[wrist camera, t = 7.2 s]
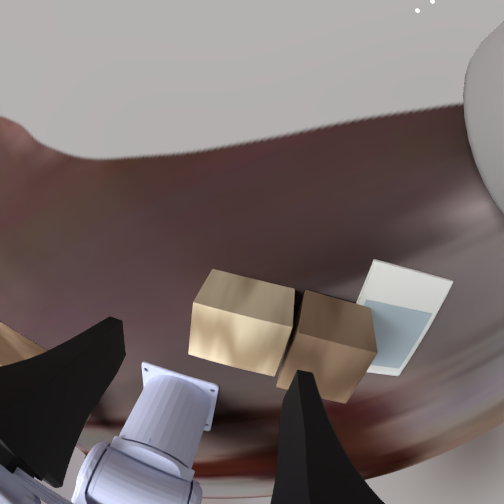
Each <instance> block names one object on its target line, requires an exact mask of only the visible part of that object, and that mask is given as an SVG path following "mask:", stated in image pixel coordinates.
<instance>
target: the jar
mask: <svg viewBox="0 0 504 504" xmlns="http://www.w3.org/2000/svg"><path fill="white" fill-rule="evenodd" d="M430 1H431V3H435V2H434V0H430ZM416 12H420V10H419V9H416ZM463 100H464V118H465V123H466V128H467V134H468V140H469V143H470V146H471V150H472V153H473V157H474V160H475V163H476V166H477V168H478V170H479V173H480V175H481V177H482V180H483V182H484V185H485V186H486V188H487V190H488V192H489V193H490V195H491V197H492V199H493V201H494V203H495V204H496V205H497V207H498V208H499V209H500V211H501V212H502V213H503V214H504V21H503V22H502V23H501V24H500V25H499V26H498V27H497V28H496V29H495V30H494V31H493V32H492V33H491V34H490V35H489V36H488V37H487V38H486V39H484V40H483V41H482V42H481V44H480V45H479V47H478V49H477V50H476V52H475V53H474V55H473V56H472V58H471V60H470V62H469V65H468V68H467V72H466V75H465V82H464V92H463Z"/></svg>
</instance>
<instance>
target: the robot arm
mask: <svg viewBox="0 0 504 504" xmlns="http://www.w3.org/2000/svg"><path fill="white" fill-rule="evenodd" d="M125 355H126V353H125V344H124V334H123V323H122V321H121V320H119V319H116V318H113V317H111V316H110V317H108V318H106V319H104V320H103V321H101V322H99V323H98V324H96V325H94V326H93V327H91V328H89V329H87V330H86V331H84V332H82V333H81V334H79V335H77V336H75V337H74V338H72V339H70V340H68V341H66V342H64V343H62V344H60V345H58V346H56V347H55V348H53V349H51V350H48V351H46V352H44V353H42V354H39V355H37V356H34V357H31V358H29V359H26V360H22V361H19V362H16V363H12V364H9V365H5V366H0V504H41V501H40V499H41V500H42V501H44V502H46V503H47V504H201V500H202V489H201V487H200V485H199V482H198V481H195V480H192V479H193V476H194V472H195V471H194V470H192V469H191V468H192V465H193V461H194V458H195V455H196V452H197V449H198V446H199V443H200V440H201V437H202V434H203V430H205V431H210V429H211V425H212V420H213V415H214V410H215V405H216V400H217V395H218V390H219V386H218V385H217V384H214V383H211V382H207V381H204V380H200V379H197V378H193V377H190V376H187V375H183V374H180V373H177V372H174V371H171V370H168V369H165V368H162V367H159V366H156V365H153V364H150V363H147V362H143V363H142V374H143V384H144V389H143V391H142V393H141V395H140V397H139V399H138V401H137V402H136V404H135V406H134V408H133V410H132V412H131V414H130V416H129V418H128V419H127V421H126V423H125V425H124V427H123V429H122V431H121V433H120V435H119V437H117V436H115V437H114V439H113V441H112V442H111V443H109V442H107V441H102V442H99V443H96V444H95V445H94V446H93V447H92V449H91V450H90V452H89V453H88V455H87V457H86V459H85V461H84V462H83V465H82V467H81V469H80V472H79V475H78V477H77V481H76V489H75V491H74V494H73V497H72V499H71V501H72V502H70V501H68V500H67V499H65V498H63V497H61V496H60V495H58V494H57V493H55V492H53V491H52V490H50V489H48V488H47V487H46V486H44V485H43V484H41V483H39V482H38V481H37V480H35V479H34V477H36V478H37V479H39V480H40V481H42V480H44V481H45V482H47V483H48V484H50V485H51V486H53V487H54V488H59V487H62V485H63V481H64V478H65V474H66V471H67V468H68V464H69V462H70V459H71V456H72V453H73V451H74V448H75V446H76V443H77V441H78V438H79V436H80V434H81V432H82V430H83V427H84V425H85V423H86V421H87V419H88V417H89V415H90V414H91V412H92V410H93V409H94V407H95V406H96V404H97V403H98V401H99V400H100V398H101V397H102V395H103V394H104V392H105V391H106V389H107V388H108V386H109V385H110V383H111V382H112V380H113V379H114V377H115V375H116V374H117V372H118V370H119V368H120V366H121V364H122V362H123V360H124V358H125ZM145 368H147V369H148V370H146V369H145ZM211 389H214V390H215V391H212V390H211ZM206 424H208V425H206ZM271 504H385V503H384V502H383V501H382V500H380V498H379V497H378V496H377V495H376V494H375V493H374V492H373V491H372V489H371V488H370V487H369V486H368V484H367V483H366V482H365V480H364V479H363V478H362V476H361V475H360V474H359V472H358V471H357V470H356V468H355V467H354V465H353V464H352V462H351V460H350V459H349V457H348V456H347V454H346V452H345V450H344V449H343V447H342V445H341V443H340V441H339V439H338V437H337V435H336V433H335V431H334V429H333V427H332V424H331V422H330V420H329V417H328V415H327V412H326V410H325V407H324V405H323V402H322V399H321V396H320V393H319V390H318V387H317V384H316V381H315V377H314V374H313V373H312V372H308V371H302V370H297V371H296V373H295V375H294V378H293V380H292V382H291V384H290V386H289V389H288V391H287V393H286V395H285V397H284V399H283V404H282V410H281V416H280V422H279V439H278V457H277V471H276V479H275V484H274V489H273V494H272V499H271Z"/></svg>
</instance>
